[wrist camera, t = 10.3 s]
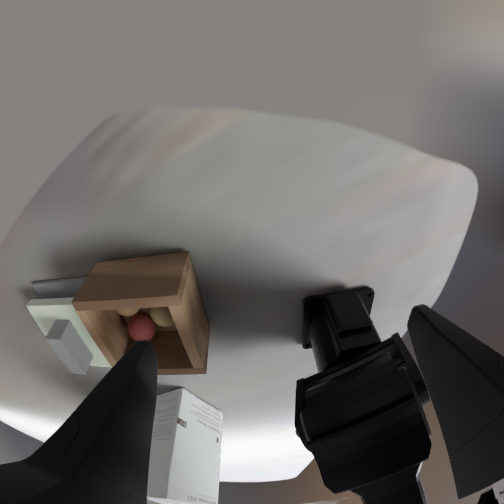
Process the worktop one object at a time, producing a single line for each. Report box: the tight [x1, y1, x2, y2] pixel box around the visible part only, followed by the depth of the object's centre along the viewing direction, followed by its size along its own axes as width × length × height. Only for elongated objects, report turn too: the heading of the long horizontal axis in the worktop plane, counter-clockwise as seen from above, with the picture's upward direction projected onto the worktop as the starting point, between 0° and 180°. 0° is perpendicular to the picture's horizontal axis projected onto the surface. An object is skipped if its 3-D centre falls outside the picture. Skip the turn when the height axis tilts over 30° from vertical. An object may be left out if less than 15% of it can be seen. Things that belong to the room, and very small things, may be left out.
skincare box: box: [147, 388, 223, 504], centre depth 26 cm, size 8×6×15 cm
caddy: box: [71, 251, 210, 375], centre depth 20 cm, size 8×8×5 cm
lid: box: [26, 297, 111, 375], centre depth 22 cm, size 9×9×4 cm
